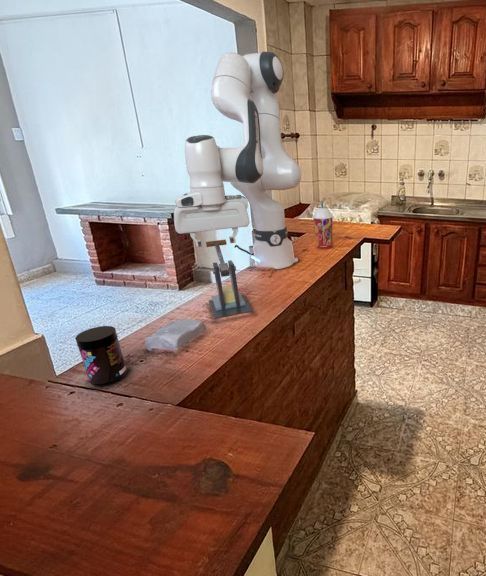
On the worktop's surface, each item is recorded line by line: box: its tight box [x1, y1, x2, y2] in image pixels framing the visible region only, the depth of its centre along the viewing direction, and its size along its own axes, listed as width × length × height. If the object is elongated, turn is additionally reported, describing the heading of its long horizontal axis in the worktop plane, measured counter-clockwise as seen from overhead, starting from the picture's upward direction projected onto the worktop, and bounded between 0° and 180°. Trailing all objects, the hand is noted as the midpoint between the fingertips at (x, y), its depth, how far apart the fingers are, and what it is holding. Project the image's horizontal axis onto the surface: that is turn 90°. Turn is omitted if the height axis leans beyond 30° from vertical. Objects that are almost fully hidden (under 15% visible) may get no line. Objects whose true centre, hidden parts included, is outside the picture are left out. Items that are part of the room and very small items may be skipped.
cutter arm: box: [205, 239, 230, 278], centre depth 113 cm, size 14×6×2 cm, turn 27°
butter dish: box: [211, 284, 246, 311], centre depth 115 cm, size 10×8×4 cm
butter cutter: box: [208, 259, 254, 320], centre depth 111 cm, size 14×10×14 cm
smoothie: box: [312, 200, 334, 250], centre depth 172 cm, size 8×8×20 cm
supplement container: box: [75, 325, 128, 388], centre depth 80 cm, size 7×7×10 cm
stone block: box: [144, 318, 206, 352], centre depth 96 cm, size 12×5×10 cm
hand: (216, 244), depth 117 cm, fingers open, 8 cm apart
